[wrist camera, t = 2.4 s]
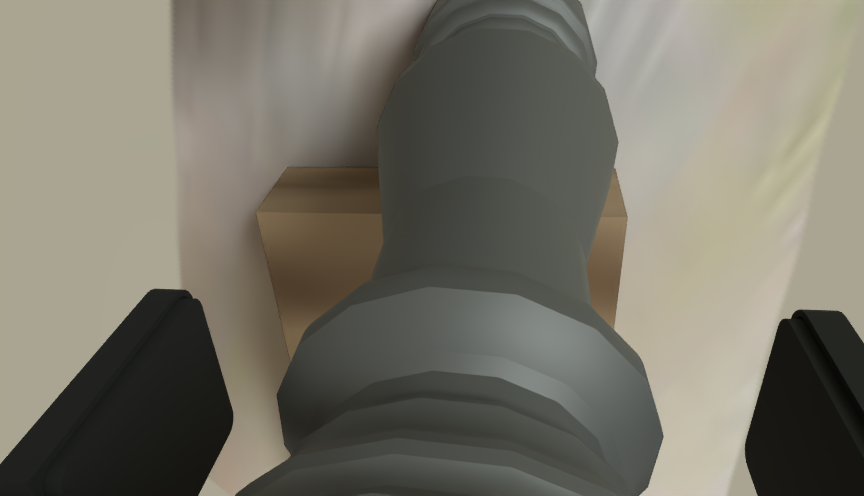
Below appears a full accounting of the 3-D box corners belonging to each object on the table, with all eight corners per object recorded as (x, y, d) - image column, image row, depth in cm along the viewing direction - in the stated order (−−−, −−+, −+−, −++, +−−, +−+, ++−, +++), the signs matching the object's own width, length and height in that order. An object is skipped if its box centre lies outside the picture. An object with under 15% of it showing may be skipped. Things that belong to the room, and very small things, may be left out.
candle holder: (476, 150, 27) (298, 1239, 6) (393, 19, 25) (-374, 1097, 4) (617, 76, 25) (1096, 1438, 4) (541, -78, 22) (713, 1411, 1)
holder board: (287, 167, 29) (255, 212, 25) (615, 168, 27) (627, 217, 23) (345, 467, 39) (328, 527, 36) (581, 483, 37) (587, 548, 34)
